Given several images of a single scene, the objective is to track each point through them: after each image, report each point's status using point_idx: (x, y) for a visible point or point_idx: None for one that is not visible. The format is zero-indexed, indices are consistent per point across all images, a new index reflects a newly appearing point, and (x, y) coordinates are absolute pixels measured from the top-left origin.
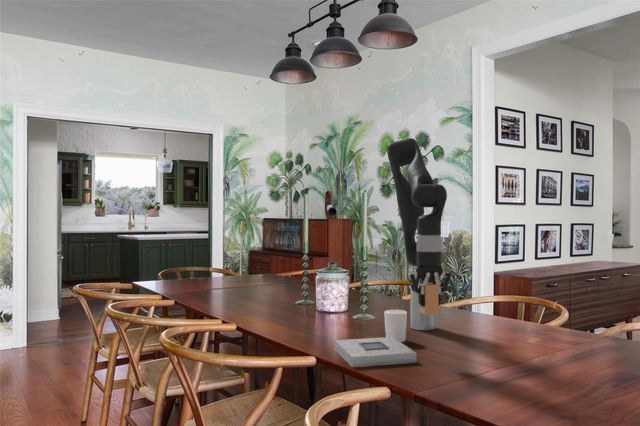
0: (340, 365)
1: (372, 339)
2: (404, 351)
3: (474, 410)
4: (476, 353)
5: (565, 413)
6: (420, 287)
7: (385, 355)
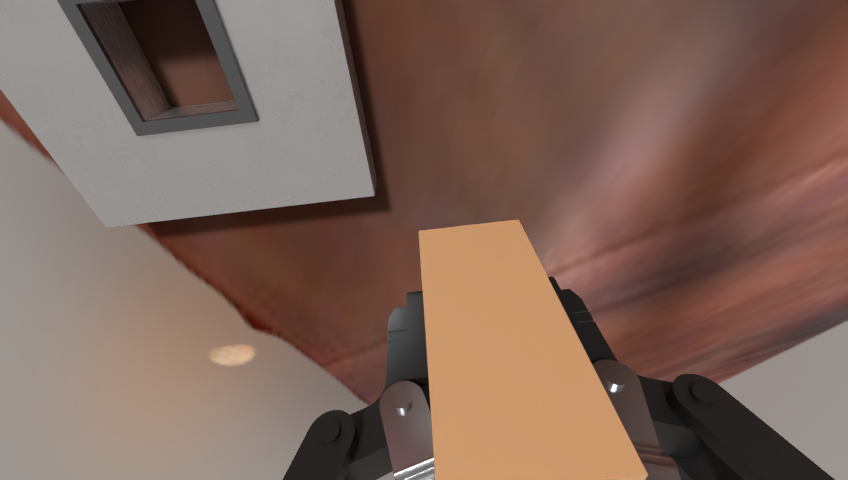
0: None
1: None
2: (327, 174)
3: None
4: (684, 73)
5: None
6: (413, 460)
7: (243, 210)
